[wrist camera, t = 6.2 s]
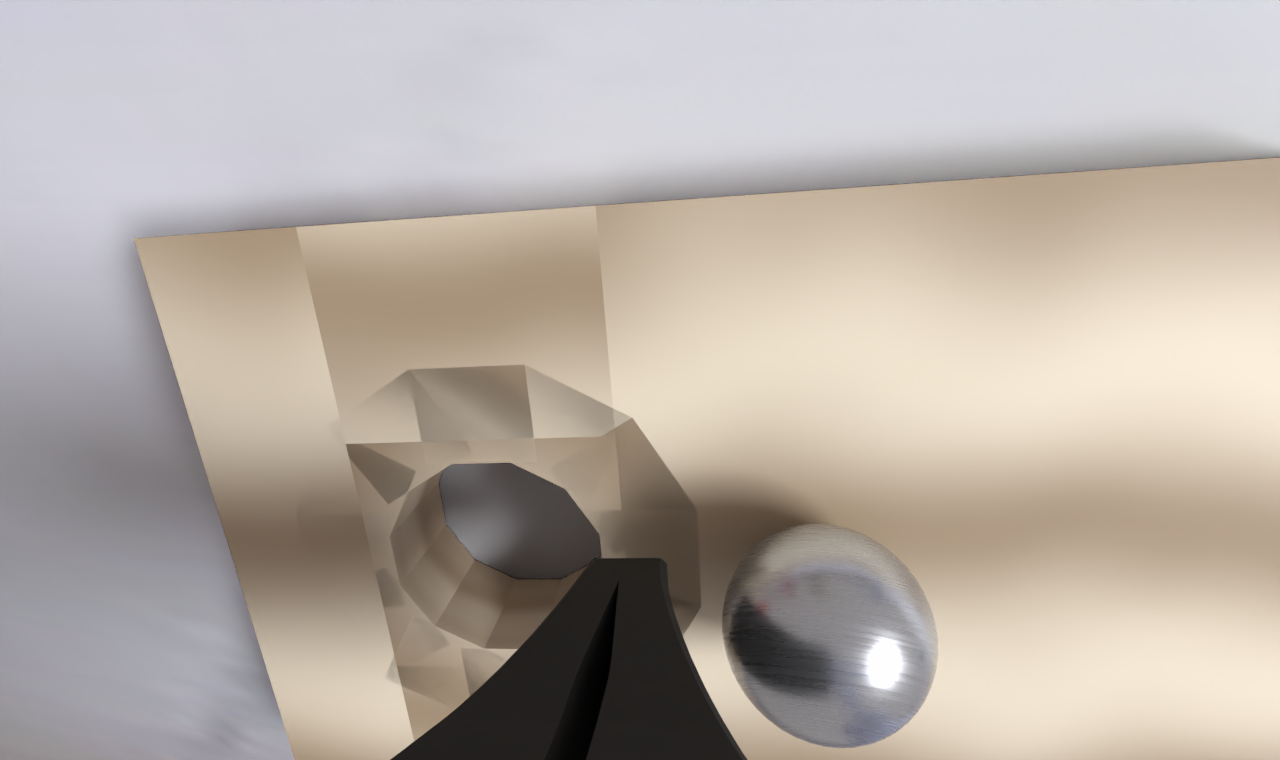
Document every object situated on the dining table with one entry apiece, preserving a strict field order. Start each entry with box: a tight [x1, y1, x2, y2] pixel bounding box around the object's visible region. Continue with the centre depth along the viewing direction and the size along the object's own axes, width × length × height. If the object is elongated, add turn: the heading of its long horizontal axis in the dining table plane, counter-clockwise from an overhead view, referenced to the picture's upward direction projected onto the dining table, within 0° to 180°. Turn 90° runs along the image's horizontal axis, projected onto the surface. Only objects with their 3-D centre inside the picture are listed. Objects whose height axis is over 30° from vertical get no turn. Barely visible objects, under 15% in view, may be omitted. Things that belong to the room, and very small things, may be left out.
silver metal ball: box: [722, 524, 938, 748], centre depth 10 cm, size 4×4×4 cm
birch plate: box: [134, 157, 1280, 760], centre depth 13 cm, size 14×22×2 cm, turn 94°
